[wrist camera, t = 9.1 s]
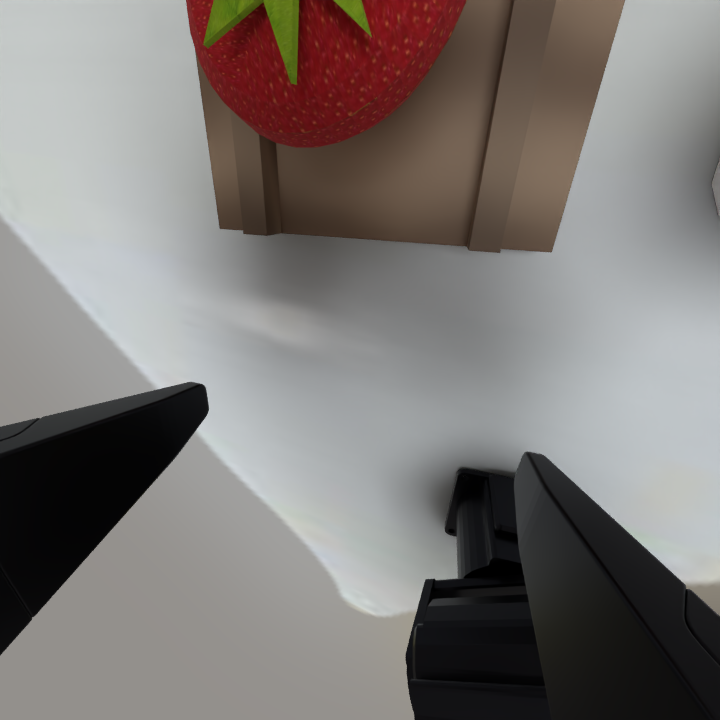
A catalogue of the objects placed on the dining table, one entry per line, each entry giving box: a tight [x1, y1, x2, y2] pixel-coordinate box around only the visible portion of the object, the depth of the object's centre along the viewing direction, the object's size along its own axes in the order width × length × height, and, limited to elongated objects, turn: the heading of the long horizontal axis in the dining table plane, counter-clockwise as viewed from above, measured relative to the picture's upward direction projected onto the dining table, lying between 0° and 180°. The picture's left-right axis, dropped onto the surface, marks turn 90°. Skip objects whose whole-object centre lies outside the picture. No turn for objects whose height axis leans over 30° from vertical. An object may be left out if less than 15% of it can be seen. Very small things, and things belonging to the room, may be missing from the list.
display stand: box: [195, 0, 625, 253], centre depth 13 cm, size 12×16×4 cm
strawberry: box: [186, 0, 467, 148], centre depth 8 cm, size 6×8×10 cm
